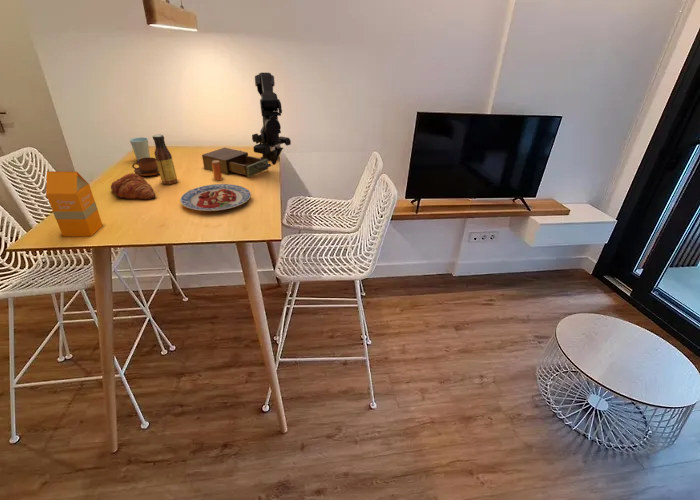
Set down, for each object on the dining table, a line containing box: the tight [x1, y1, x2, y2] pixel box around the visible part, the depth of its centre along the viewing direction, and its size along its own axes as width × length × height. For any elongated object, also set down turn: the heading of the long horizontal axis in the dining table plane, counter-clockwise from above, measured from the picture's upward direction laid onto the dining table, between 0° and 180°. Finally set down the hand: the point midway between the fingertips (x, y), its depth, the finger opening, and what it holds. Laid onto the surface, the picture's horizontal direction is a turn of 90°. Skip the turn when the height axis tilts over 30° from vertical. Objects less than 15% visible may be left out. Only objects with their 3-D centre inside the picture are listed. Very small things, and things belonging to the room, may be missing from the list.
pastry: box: [110, 172, 156, 200], centre depth 149 cm, size 17×15×8 cm
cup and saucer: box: [131, 156, 160, 177], centre depth 170 cm, size 12×12×6 cm
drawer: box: [227, 155, 272, 178], centre depth 175 cm, size 18×13×5 cm
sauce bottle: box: [152, 133, 178, 185], centre depth 158 cm, size 7×6×20 cm
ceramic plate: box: [179, 183, 252, 212], centre depth 147 cm, size 26×26×3 cm
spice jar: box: [212, 160, 223, 181], centre depth 166 cm, size 3×3×8 cm
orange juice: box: [45, 170, 103, 237], centre depth 119 cm, size 8×9×20 cm
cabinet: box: [201, 147, 249, 175], centre depth 180 cm, size 15×15×7 cm
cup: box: [129, 136, 151, 162], centre depth 183 cm, size 8×8×10 cm
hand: (274, 164), depth 168 cm, fingers closed
